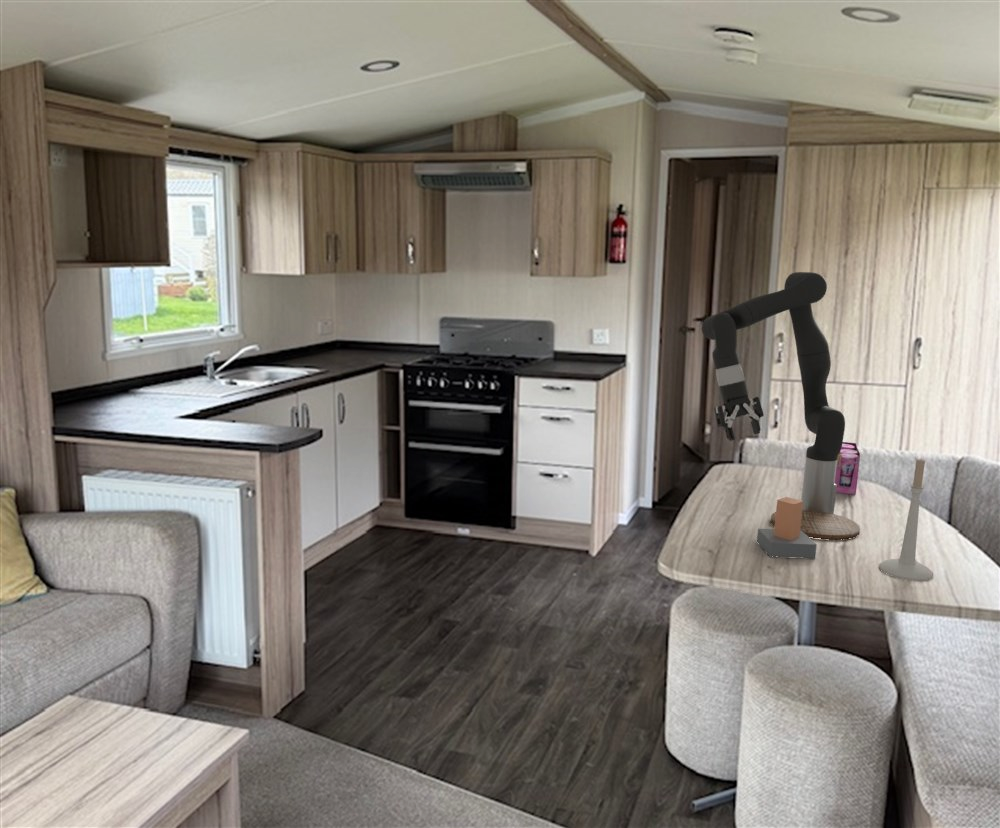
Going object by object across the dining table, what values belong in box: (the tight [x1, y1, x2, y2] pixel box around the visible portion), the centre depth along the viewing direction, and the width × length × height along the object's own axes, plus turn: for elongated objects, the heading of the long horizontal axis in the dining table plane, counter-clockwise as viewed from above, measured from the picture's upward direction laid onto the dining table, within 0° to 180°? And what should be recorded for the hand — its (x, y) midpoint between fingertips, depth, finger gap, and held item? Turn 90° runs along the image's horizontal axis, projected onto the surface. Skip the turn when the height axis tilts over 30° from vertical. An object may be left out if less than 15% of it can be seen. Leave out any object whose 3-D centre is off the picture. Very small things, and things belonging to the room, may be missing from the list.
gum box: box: [835, 441, 861, 495], centre depth 316 cm, size 24×8×14 cm, turn 163°
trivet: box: [770, 510, 861, 541], centre depth 268 cm, size 25×25×2 cm
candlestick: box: [878, 458, 934, 582], centre depth 230 cm, size 13×13×30 cm
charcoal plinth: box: [756, 528, 818, 559], centre depth 245 cm, size 12×12×4 cm
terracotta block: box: [773, 496, 803, 540], centre depth 244 cm, size 5×5×10 cm
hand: (744, 436), depth 260 cm, fingers open, 8 cm apart
